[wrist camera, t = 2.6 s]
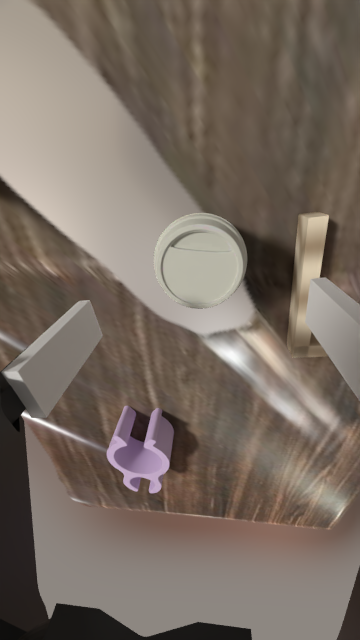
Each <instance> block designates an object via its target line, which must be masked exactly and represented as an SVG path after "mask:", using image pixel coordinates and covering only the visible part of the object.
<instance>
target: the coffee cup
mask: <svg viewBox="0 0 360 640" xmlns="http://www.w3.org/2000/svg"><path fill="white" fill-rule="evenodd" d="M246 267H247V250H246V246H245V243H244V240H243V238H242V236H241V235H240V233H239V232H238V230H237V229H236V228H235V227H234V226H233V225H232V224H231V223H229V222H228V221H227V220H225V219H223V218H221V217H219V216H216V215H213V214H208V213H195V214H190V215H186V216H183V217H181V218H179V219H177V220H176V221H174V222H173V223H172V224H170V225H169V226H168V227H167V228H166V229H165V230H164V232H163V233H162V234H161V236H160V238H159V240H158V242H157V244H156V248H155V253H154V269H155V274H156V277H157V280H158V282H159V283H160V285H161V287H162V288H163V290H164V291H165V292H166V294H167V295H168V296H169V297H170V298H171V299H173V300H174V301H175V302H177V303H179V304H181V305H183V306H186V307H190V308H198V309H202V308H209V307H213V306H216V305H218V304H220V303H222V302H224V301H225V300H226V299H228V298H229V297H230V296H231V295H232V294H233V293H234V292H235V291H236V290H237V288H238V287H239V286H240V284H241V282H242V280H243V278H244V275H245V272H246Z"/></svg>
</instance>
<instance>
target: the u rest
mask: <svg viewBox="0 0 360 640" xmlns="http://www.w3.org/2000/svg"><path fill="white" fill-rule="evenodd" d="M328 219H329V215H327V214H323V213H320V212H311V213H304V214H299V217H298V227H297V238H296V249H295V260H294V270H293V281H292V292H291V303H290V314H289V324H288V335H287V347H288V349H289V351H290V353H291V355H292V357H293V358H302V357H324V356H328V355H327V353H326V352H325V350H324V349H323V347H322V346H321V344H320V343H319V342H318V340H317V339H316V337H315V336H314V334H313V333H311V330H310V329H309V327H308V326H307V324H306V323H305V319H306V311H307V303H308V295H309V287H310V279H314V278H320V272H321V265H322V258H323V252H324V245H325V239H326V232H327V225H328Z"/></svg>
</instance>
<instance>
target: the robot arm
mask: <svg viewBox="0 0 360 640" xmlns="http://www.w3.org/2000/svg"><path fill="white" fill-rule="evenodd" d="M305 323H306V324H307V326H308V327H309V329H310V330H311V331H312V333H313V334H314V336H315V337H316V339H317V340H318V342H319V343H320V344H321V346H322V347H323V349H324V350H325V352H326V353H327V355H328V356H329V357H330V359H331V360H332V362H333V363H334V365H335V366H336V368H337V369H338V370H339V372H340V373H341V375H342V376H343V378H344V379H345V381H346V382H347V383H348V385H349V386H350V388H351V389H352V391H353V392H354V394H355V395H356V396H357V398H358V399H359V401H360V305H359V304H358V303H357V302H356V301H354V300H353V299H352V298H351V297H349V296H348V295H347V294H346V293H344V292H343V291H342V290H341V289H339V288H338V287H337V286H336V285H334V284H333V283H332V282H331V281H330V280H328V279H327V278H326V277H325V278H314V279H310V287H309V295H308V303H307V311H306V319H305ZM102 337H103V335H102V332H101V329H100V327H99V324H98V321H97V318H96V316H95V313H94V310H93V307H92V305H91V302H90V300H85V301H78V302H77V303H76V304H75V305H74V306H73V307H72V308H71V309H70V310H69V311H67V312H66V313H65V314H64V315H63V316H62V317H61V318H60V319H59V320H58V321H57V322H55V323H54V324H53V325H52V326H51V327H50V328H49V329H48V330H47V331H46V332H44V333H43V334H42V335H41V336H40V337H39V338H38V339H37V340H36V341H35V342H33V343H32V344H31V345H30V346H29V347H27V348H26V349H25V350H24V351H23V352H22V353H20V355H18V356H17V357H16V358H15V359H14V361H12V362H11V363H9V364H8V365H7V366H6V367H5V368H4V369H3V370H2V371H1V372H0V640H252V637H251V629H246V628H239V627H231V626H224V625H216V624H208V623H201V622H197V623H193V624H190V625H187V626H184V627H180V628H177V629H173V630H170V631H166V632H163V633H159V634H156V635H153V636H149V637H143V636H140V635H138V634H137V633H135V632H134V631H132V630H131V629H129V628H128V627H126V626H124V625H123V624H122V623H120V622H118V621H117V620H115V619H114V618H112V617H111V616H109V615H108V614H106V613H105V612H103V611H102V610H100V609H96V608H88V607H81V606H73V605H66V604H58V603H57V604H56V606H55V609H54V612H53V615H52V617H51V619H48V615H47V611H46V607H45V605H44V603H43V601H42V598H41V596H40V593H39V590H38V584H37V573H36V561H35V549H34V537H33V525H32V512H31V500H30V488H29V476H28V464H27V452H26V440H25V427H24V420H23V418H22V417H21V414H22V412H23V411H24V410H25V409H26V410H27V411H28V413H29V414H30V416H31V417H32V418H47V416H48V415H49V413H50V412H51V410H52V409H53V408H54V406H55V405H56V403H57V402H58V400H59V399H60V397H61V396H62V394H63V393H64V392H65V390H66V389H67V387H68V386H69V384H70V383H71V381H72V380H73V379H74V377H75V376H76V374H77V373H78V371H79V370H80V368H81V367H82V366H83V364H84V363H85V361H86V360H87V358H88V357H89V355H90V354H91V352H92V351H93V350H94V348H95V347H96V345H97V344H98V342H99V341H100V339H101V338H102ZM337 640H360V567H359V571H358V574H357V577H356V581H355V584H354V587H353V590H352V594H351V597H350V601H349V604H348V608H347V611H346V614H345V618H344V621H343V624H342V627H341V630H340V633H339V635H338V638H337Z"/></svg>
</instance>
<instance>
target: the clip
mask: <svg viewBox="0 0 360 640" xmlns="http://www.w3.org/2000/svg"><path fill="white" fill-rule="evenodd" d="M161 415H162V410H161V409H160V408H157V409H155V410H154V411H153V412H152V414H151V418H150V422H149V426H148V430H147V434H146V438H145V442H141V441H138V440H136V439H134V438H132V437H131V436H130V433H131V430H132V427H133V424H134V421H135V417H136V412H135V411H134V410H133V409H132V408H131V407H129V406H125V407H124V409H123V412H122V414H121V417H120V419H119V422H118V424H117V427H116V430H115V432H114V435H113V438H112V440H111V443H110V445H109V448H108V451H107V458H108V460H109V462H110V463H111V464H112V465H113V466H114V467H115V468H116V469H118V470H120V471H121V472H122V473H123V474H124V479H123V482H124V484H125V485H126V486H127V487H128V488H129V489H131V490H133V491H138V488H139V484H140V480H141V477H143V478H147V479H149V480H151V482H150V487H149V492H150V493H156V492H158V491H159V490H160V489H161V486H162V479H163V474H164V473H165V472H166V471H167V470H168V469H169V465H170V457H171V450H172V443H173V436H174V430H173V427H172V425H171V424H170V422H169V421H168V420H166V419H165V418H164V417H162V416H161Z"/></svg>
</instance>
